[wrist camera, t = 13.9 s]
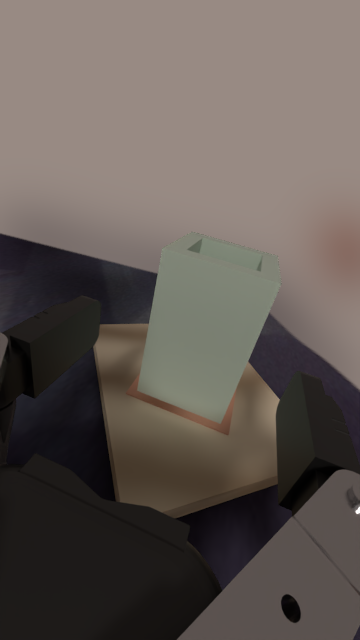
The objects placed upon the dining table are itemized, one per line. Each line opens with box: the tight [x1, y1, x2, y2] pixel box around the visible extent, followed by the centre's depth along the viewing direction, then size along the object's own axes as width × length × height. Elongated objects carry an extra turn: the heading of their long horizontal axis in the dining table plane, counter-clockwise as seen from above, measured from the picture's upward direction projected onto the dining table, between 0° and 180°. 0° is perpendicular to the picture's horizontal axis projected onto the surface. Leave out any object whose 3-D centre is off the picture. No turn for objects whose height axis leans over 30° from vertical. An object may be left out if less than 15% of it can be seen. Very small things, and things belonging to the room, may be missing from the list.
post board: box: [93, 324, 280, 518], centre depth 20 cm, size 16×13×6 cm
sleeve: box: [137, 232, 281, 424], centre depth 18 cm, size 6×6×10 cm
